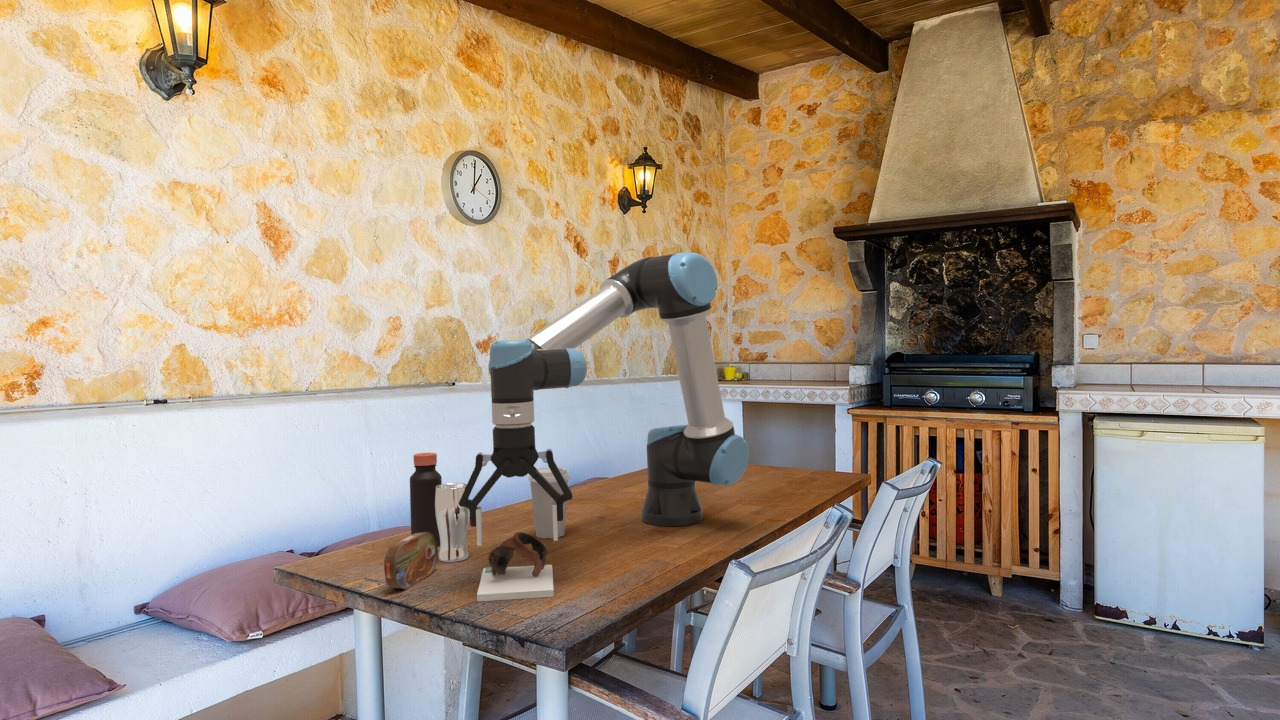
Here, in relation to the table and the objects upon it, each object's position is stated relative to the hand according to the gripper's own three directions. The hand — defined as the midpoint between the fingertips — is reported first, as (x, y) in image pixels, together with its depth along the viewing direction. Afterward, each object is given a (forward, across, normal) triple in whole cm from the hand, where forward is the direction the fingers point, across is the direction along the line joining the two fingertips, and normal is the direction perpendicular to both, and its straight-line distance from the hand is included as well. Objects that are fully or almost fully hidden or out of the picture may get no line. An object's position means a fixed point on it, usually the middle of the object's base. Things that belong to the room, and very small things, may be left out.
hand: (518, 541), depth 136 cm
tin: (+8, -20, +6) cm, 22 cm away
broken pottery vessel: (+7, -1, +2) cm, 7 cm away
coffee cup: (+9, +6, +35) cm, 36 cm away
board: (+8, 0, 0) cm, 8 cm away
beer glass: (+8, -14, +20) cm, 25 cm away
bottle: (+8, -21, +32) cm, 39 cm away
